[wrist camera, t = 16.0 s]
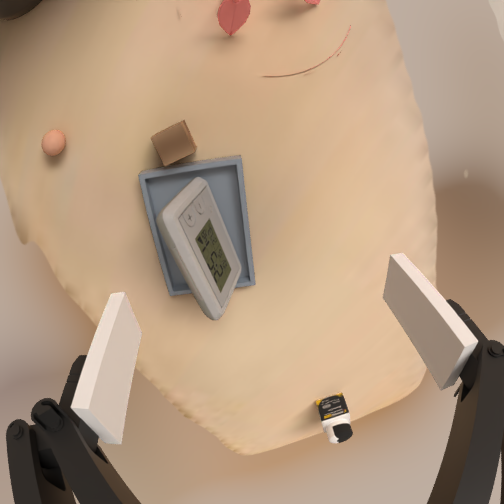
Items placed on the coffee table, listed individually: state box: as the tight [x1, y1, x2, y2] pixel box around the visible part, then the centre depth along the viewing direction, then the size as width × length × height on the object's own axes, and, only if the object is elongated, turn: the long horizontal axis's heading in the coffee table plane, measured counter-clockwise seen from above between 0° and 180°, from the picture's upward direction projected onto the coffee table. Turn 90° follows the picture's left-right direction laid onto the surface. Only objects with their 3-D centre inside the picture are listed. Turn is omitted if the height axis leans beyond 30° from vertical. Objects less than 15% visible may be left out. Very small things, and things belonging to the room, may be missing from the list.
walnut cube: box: [151, 120, 197, 166], centre depth 35 cm, size 4×4×4 cm
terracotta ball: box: [42, 130, 66, 156], centre depth 33 cm, size 4×4×4 cm
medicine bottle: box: [316, 392, 353, 443], centre depth 66 cm, size 7×7×12 cm
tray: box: [138, 155, 255, 296], centre depth 43 cm, size 13×19×2 cm
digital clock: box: [156, 177, 242, 320], centre depth 38 cm, size 16×9×11 cm, turn 7°
